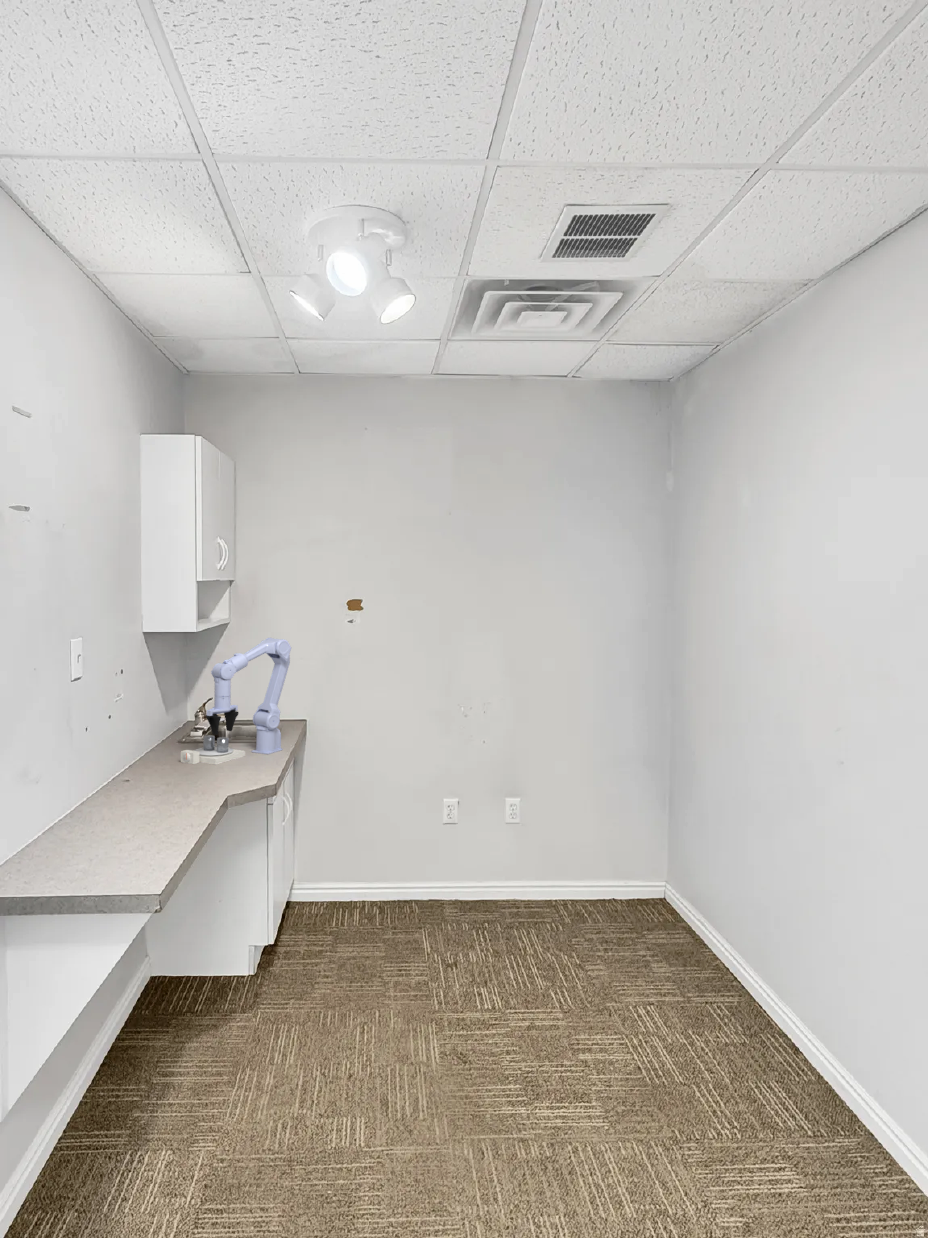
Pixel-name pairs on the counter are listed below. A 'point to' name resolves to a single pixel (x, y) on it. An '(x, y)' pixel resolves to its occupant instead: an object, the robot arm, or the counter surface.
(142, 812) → the counter surface
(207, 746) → the cylinder
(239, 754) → the scale
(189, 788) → the counter surface
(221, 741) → the cylinder
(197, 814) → the counter surface
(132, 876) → the counter surface
